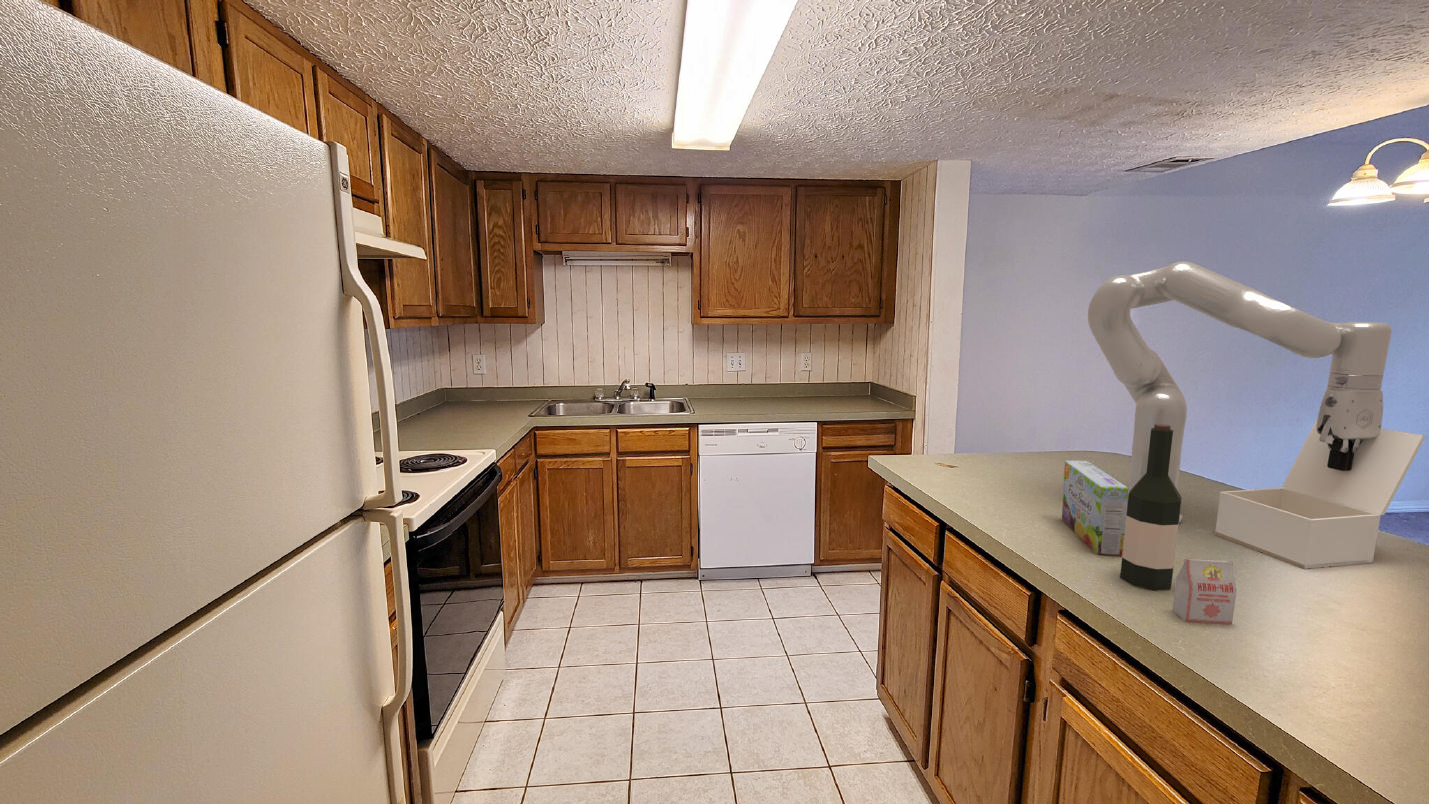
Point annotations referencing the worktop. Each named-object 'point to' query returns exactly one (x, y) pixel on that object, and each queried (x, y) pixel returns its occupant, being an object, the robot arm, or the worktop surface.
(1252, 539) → the carton
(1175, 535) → the wine bottle
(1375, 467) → the carton lid
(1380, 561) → the worktop surface
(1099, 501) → the snack box
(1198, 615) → the white and red packet
